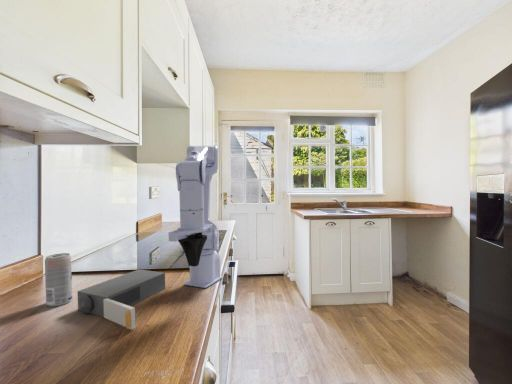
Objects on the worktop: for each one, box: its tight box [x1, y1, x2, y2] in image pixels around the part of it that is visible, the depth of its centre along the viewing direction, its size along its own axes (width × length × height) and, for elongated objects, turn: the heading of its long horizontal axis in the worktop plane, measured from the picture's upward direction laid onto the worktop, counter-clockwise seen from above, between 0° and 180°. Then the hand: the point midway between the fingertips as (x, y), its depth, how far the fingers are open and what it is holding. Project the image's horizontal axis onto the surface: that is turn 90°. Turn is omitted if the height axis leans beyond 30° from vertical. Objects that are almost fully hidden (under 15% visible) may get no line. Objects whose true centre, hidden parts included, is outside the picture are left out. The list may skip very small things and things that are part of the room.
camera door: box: [103, 298, 136, 330], centre depth 55 cm, size 10×1×4 cm, turn 59°
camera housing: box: [77, 269, 166, 318], centre depth 68 cm, size 19×10×4 cm, turn 156°
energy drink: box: [44, 252, 73, 308], centre depth 67 cm, size 5×5×12 cm
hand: (193, 265), depth 65 cm, fingers closed
